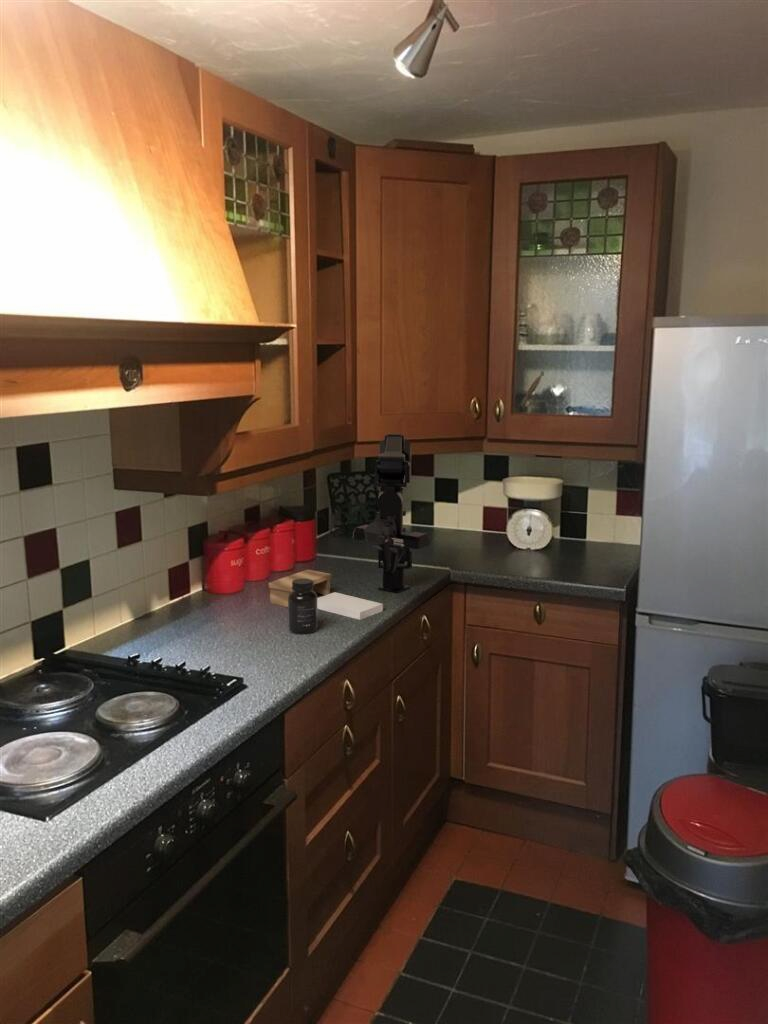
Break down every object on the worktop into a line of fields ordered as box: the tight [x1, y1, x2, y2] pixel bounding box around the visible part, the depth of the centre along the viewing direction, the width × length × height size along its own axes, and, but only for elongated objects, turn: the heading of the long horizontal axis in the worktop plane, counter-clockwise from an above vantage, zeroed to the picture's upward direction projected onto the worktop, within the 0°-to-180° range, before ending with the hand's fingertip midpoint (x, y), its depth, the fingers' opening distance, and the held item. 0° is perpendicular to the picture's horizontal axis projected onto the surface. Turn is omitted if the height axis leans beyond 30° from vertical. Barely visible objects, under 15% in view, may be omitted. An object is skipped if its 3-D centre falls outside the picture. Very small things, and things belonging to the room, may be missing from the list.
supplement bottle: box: [287, 578, 319, 635], centre depth 202 cm, size 7×7×12 cm
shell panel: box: [317, 591, 384, 621], centre depth 219 cm, size 9×16×2 cm, turn 52°
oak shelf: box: [268, 569, 332, 608], centre depth 227 cm, size 16×8×6 cm, turn 147°
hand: (390, 571), depth 210 cm, fingers closed
